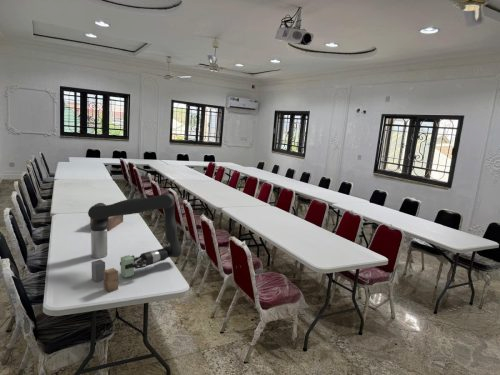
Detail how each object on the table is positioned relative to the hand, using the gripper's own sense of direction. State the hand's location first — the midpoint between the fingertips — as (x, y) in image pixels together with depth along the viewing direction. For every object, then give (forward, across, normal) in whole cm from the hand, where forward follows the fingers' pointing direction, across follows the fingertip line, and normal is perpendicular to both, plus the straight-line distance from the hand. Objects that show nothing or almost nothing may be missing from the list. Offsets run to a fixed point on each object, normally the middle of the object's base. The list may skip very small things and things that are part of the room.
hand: (122, 265), depth 186 cm
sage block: (-3, 0, +6) cm, 7 cm away
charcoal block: (+10, -7, +8) cm, 14 cm away
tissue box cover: (-37, -92, +8) cm, 99 cm away
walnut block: (+10, +7, +7) cm, 15 cm away
